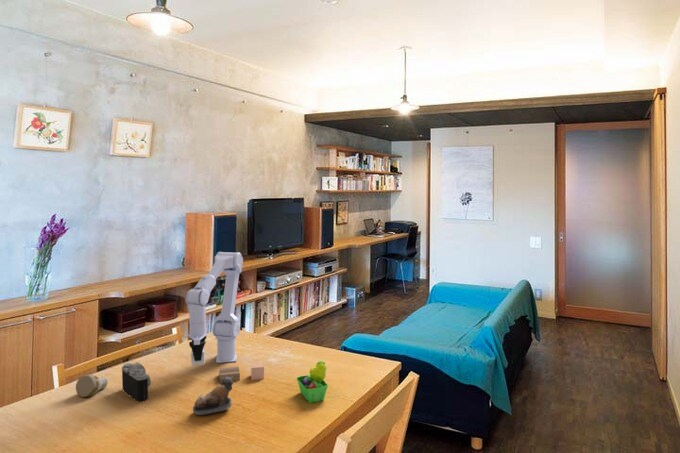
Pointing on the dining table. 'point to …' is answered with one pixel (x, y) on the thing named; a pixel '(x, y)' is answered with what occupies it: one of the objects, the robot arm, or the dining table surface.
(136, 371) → the camera
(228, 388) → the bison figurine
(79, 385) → the grey stepped cylinder
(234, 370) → the walnut base
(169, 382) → the dining table surface
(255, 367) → the terracotta block
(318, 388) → the fruit basket
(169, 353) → the dining table surface
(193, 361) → the grey block
